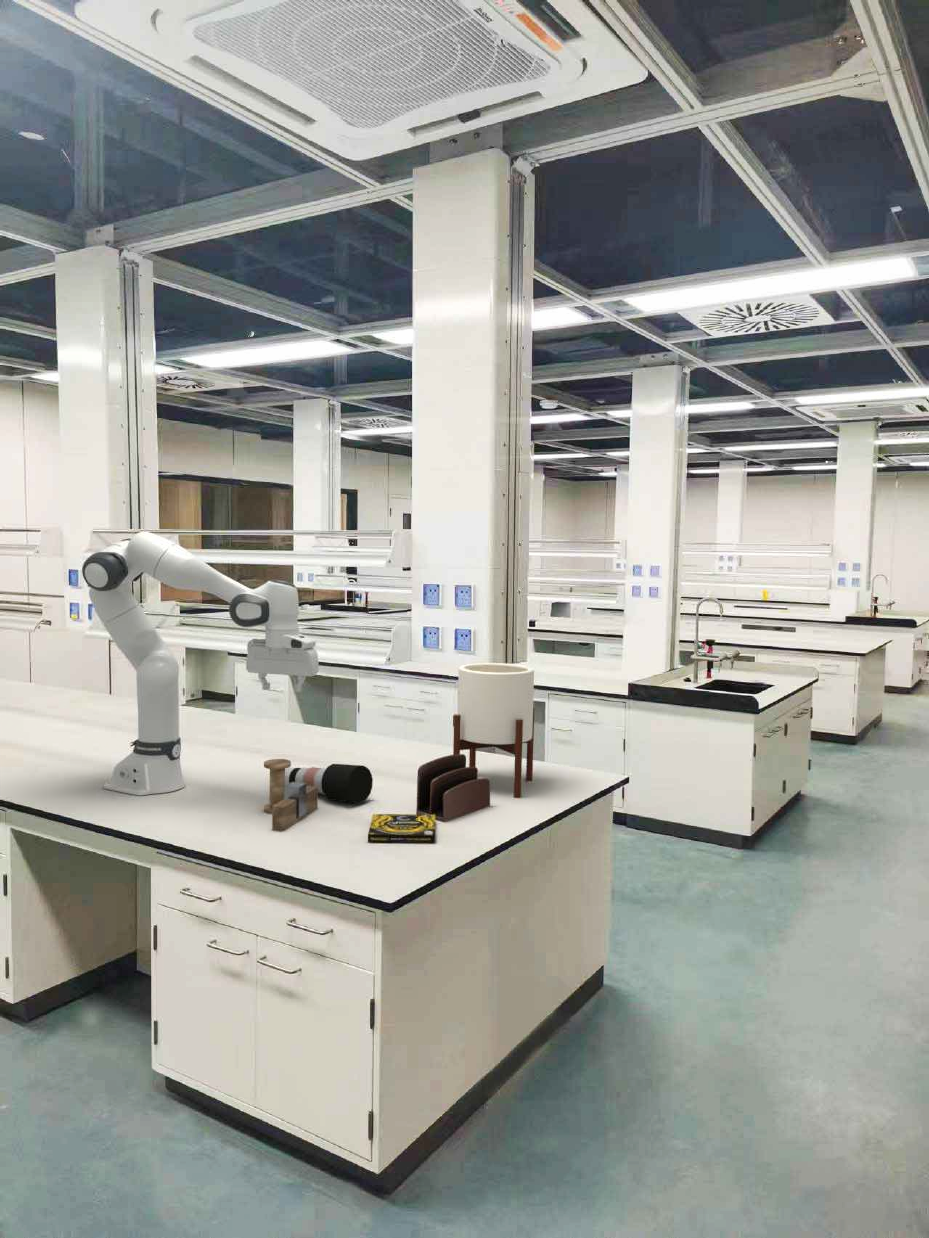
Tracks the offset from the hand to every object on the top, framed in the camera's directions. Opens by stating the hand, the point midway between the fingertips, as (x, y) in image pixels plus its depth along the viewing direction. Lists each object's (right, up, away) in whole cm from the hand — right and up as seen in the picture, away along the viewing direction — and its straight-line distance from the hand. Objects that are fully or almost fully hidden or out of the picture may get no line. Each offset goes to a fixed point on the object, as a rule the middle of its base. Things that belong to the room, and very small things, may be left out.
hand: (281, 690), depth 228 cm
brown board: (+6, -32, -11) cm, 34 cm away
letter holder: (+47, -33, 0) cm, 57 cm away
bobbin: (0, -32, -4) cm, 32 cm away
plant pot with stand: (+58, -31, +25) cm, 70 cm away
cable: (+7, -31, +12) cm, 34 cm away
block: (+6, -31, -11) cm, 34 cm away
